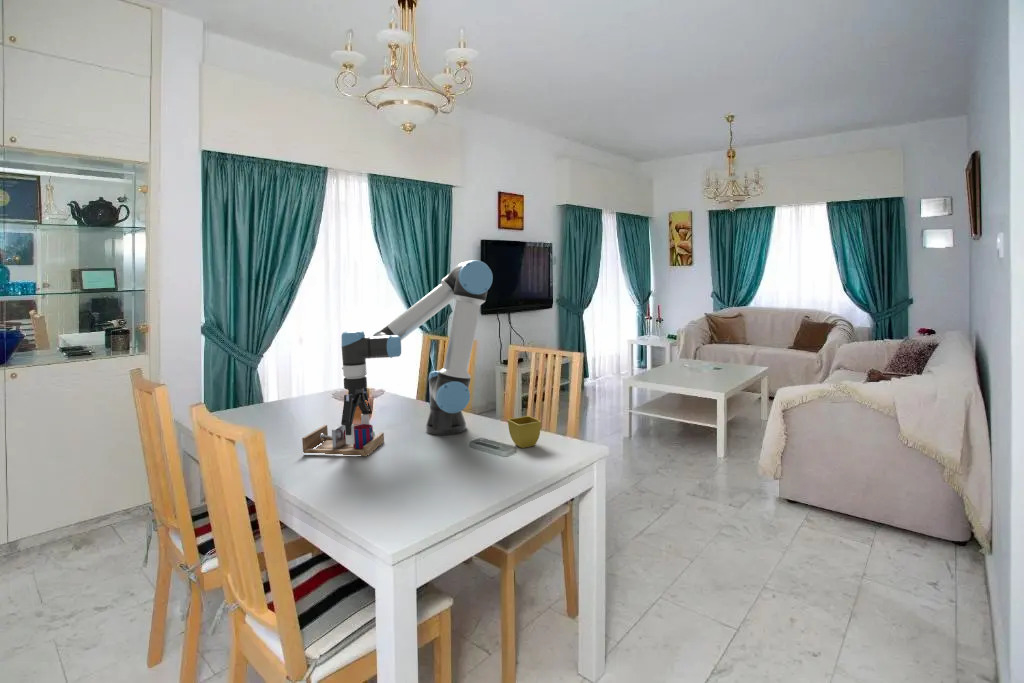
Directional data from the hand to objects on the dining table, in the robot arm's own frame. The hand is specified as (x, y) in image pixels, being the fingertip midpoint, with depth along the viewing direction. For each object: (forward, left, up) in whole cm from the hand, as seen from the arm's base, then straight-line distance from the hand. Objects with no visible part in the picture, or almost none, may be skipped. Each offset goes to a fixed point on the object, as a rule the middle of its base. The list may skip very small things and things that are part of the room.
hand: (358, 438), depth 185 cm
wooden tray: (+5, 0, -4) cm, 6 cm away
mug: (0, 0, -3) cm, 3 cm away
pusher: (+9, 0, -3) cm, 10 cm away
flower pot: (-56, -7, -4) cm, 57 cm away
